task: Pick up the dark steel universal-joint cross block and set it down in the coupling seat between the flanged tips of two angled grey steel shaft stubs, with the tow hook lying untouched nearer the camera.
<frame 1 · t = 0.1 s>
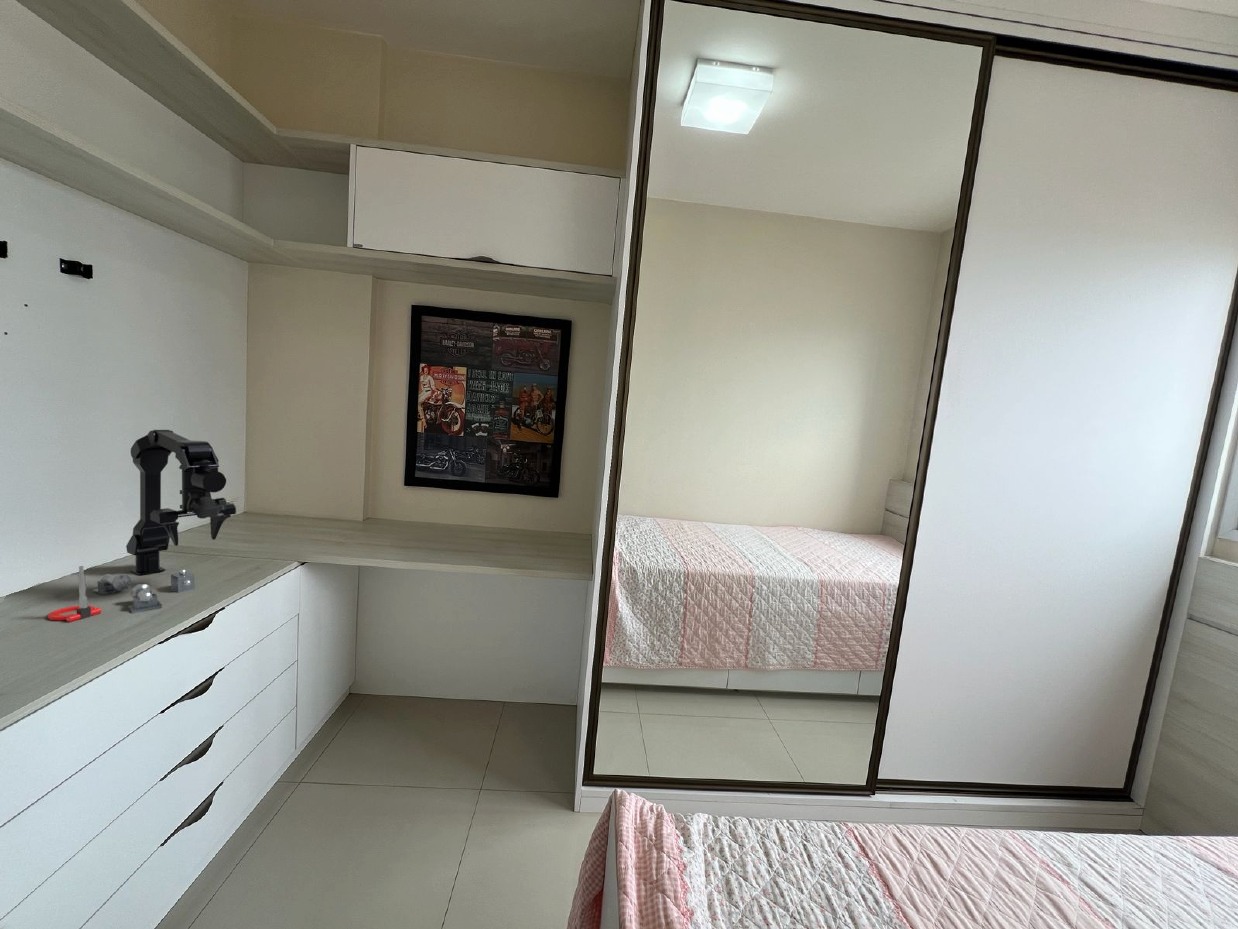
hand: (195, 542, 159), 14 cm above the worktop, fingers open, 9 cm apart
tow hook: (73, 616, 141), on the worktop
shaft left: (115, 591, 157), on the worktop
shaft right: (143, 605, 150), on the worktop
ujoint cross: (182, 589, 163), on the worktop
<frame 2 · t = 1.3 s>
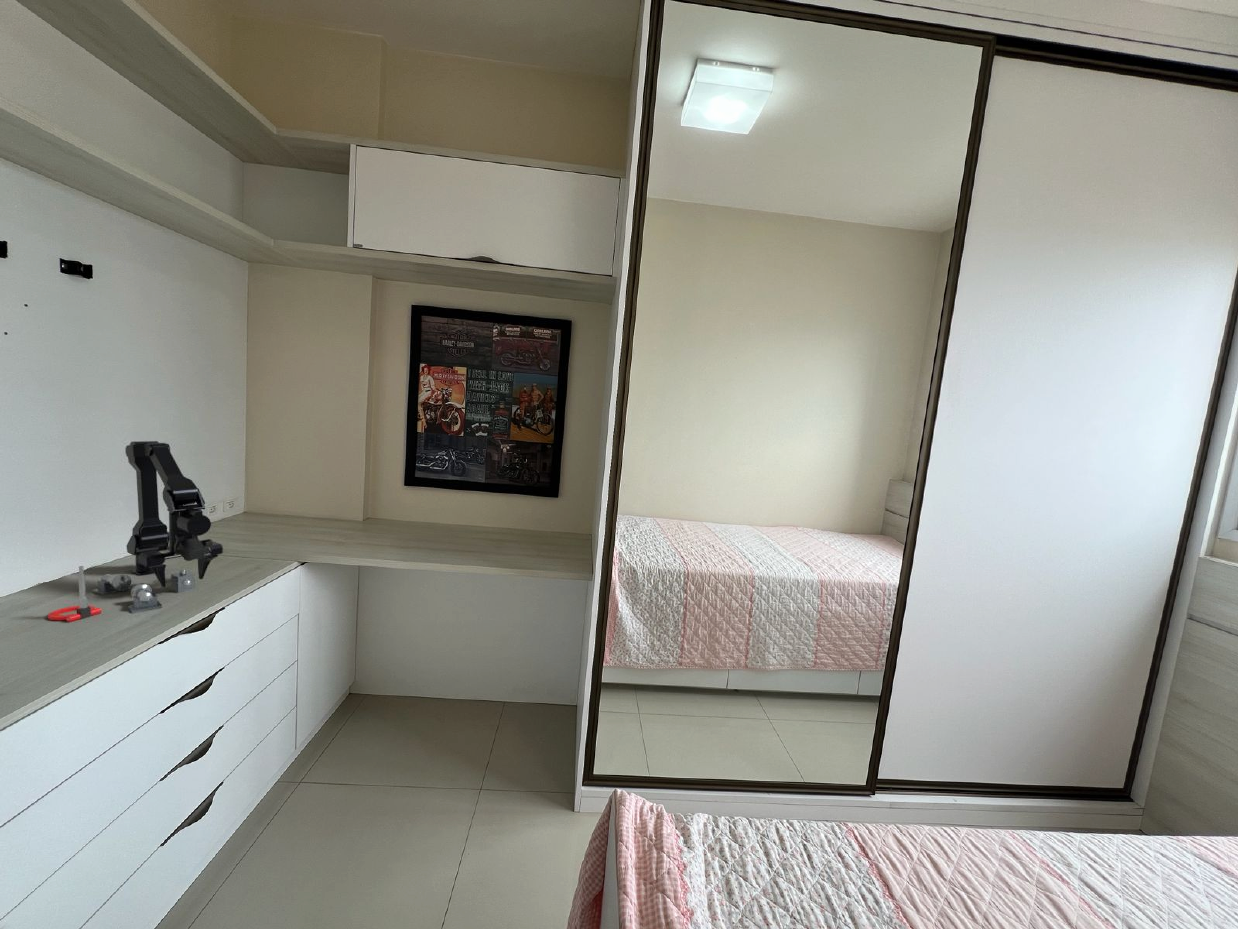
hand: (182, 582, 162), 2 cm above the worktop, fingers open, 9 cm apart
nothing on the worktop moved.
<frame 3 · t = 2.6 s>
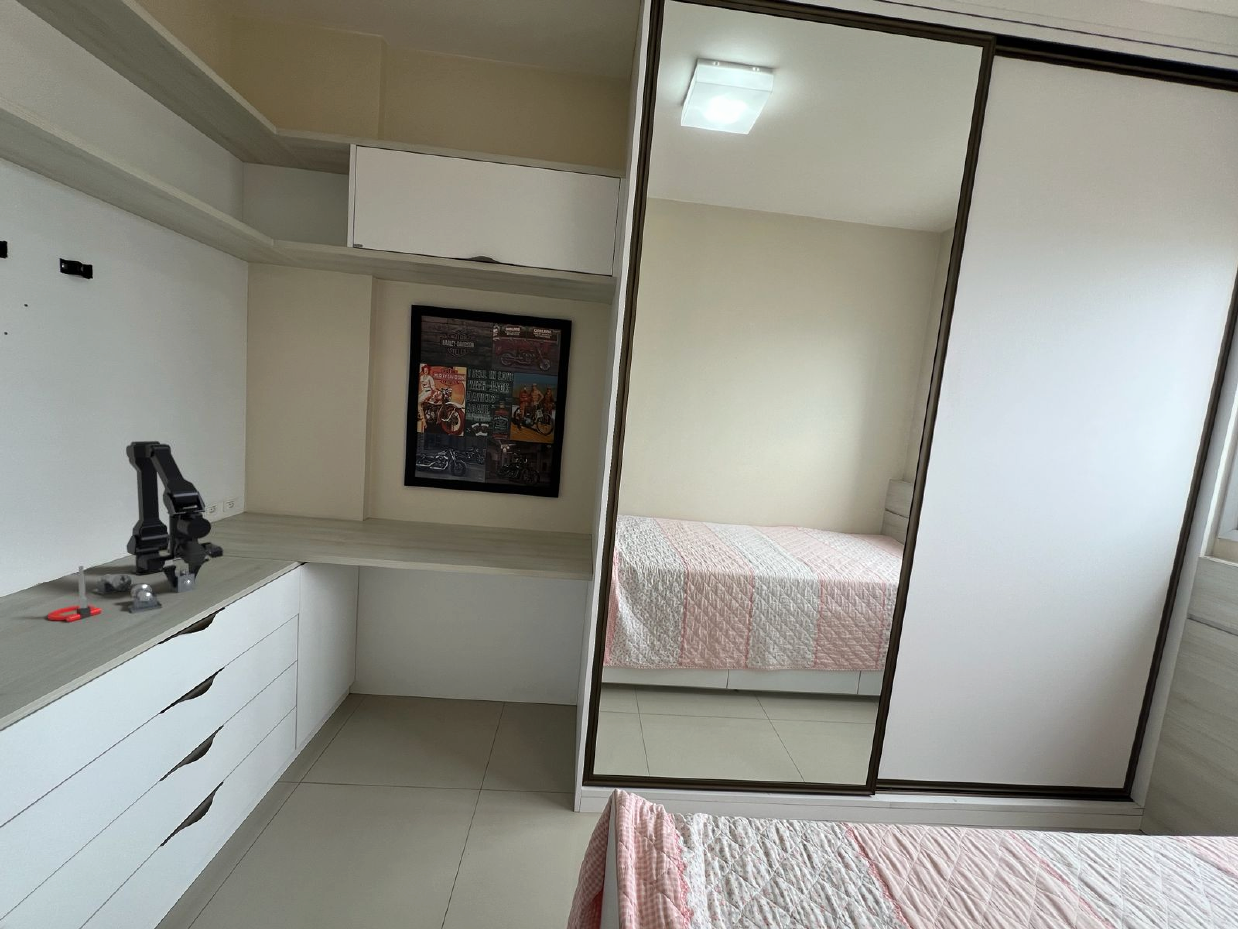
hand: (182, 585, 162), 1 cm above the worktop, fingers closed on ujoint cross, 4 cm apart
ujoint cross: (182, 589, 163), on the worktop, touching gripper
everything else where it was.
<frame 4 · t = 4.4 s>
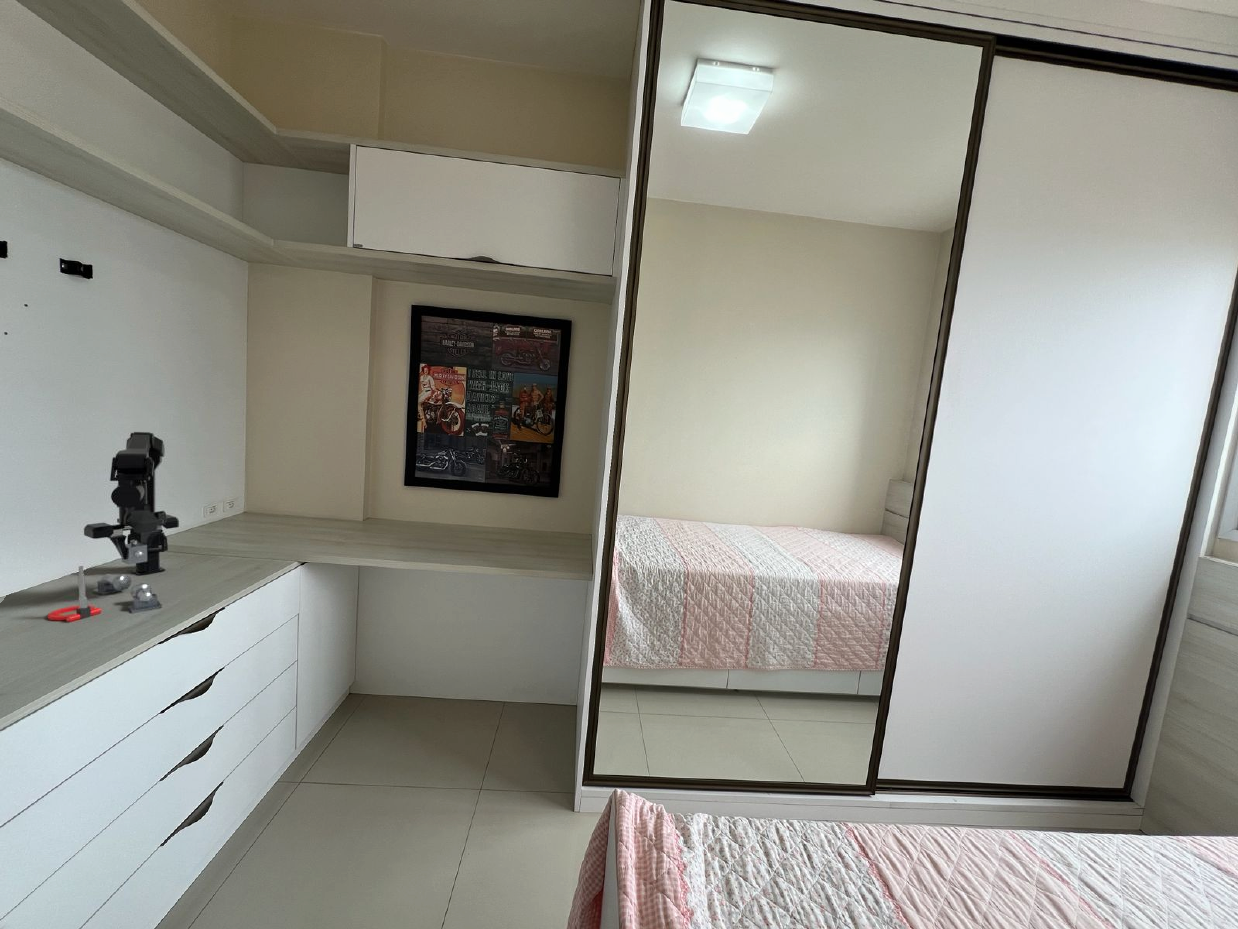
hand: (134, 557, 153), 11 cm above the worktop, fingers closed on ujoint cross, 4 cm apart
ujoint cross: (134, 561, 153), point 10 cm above the worktop, touching gripper
everything else where it was.
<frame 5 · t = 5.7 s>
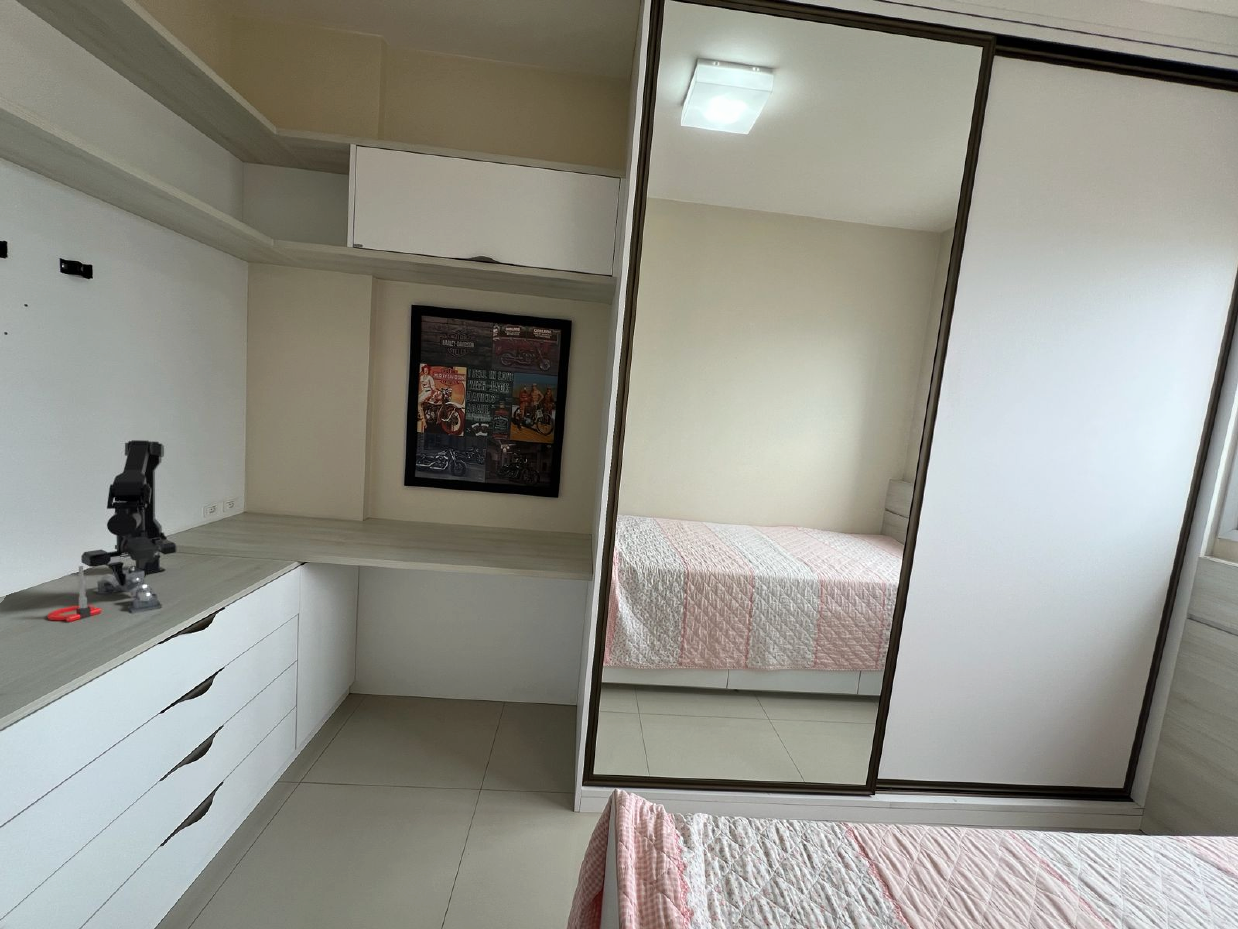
hand: (131, 583, 154), 4 cm above the worktop, fingers closed on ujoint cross, 4 cm apart
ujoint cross: (132, 587, 154), point 3 cm above the worktop, touching gripper
everything else where it was.
when the fingers open (2 cm above the worktop, at t = 6.7 s): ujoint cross drops 2 cm, on the worktop.
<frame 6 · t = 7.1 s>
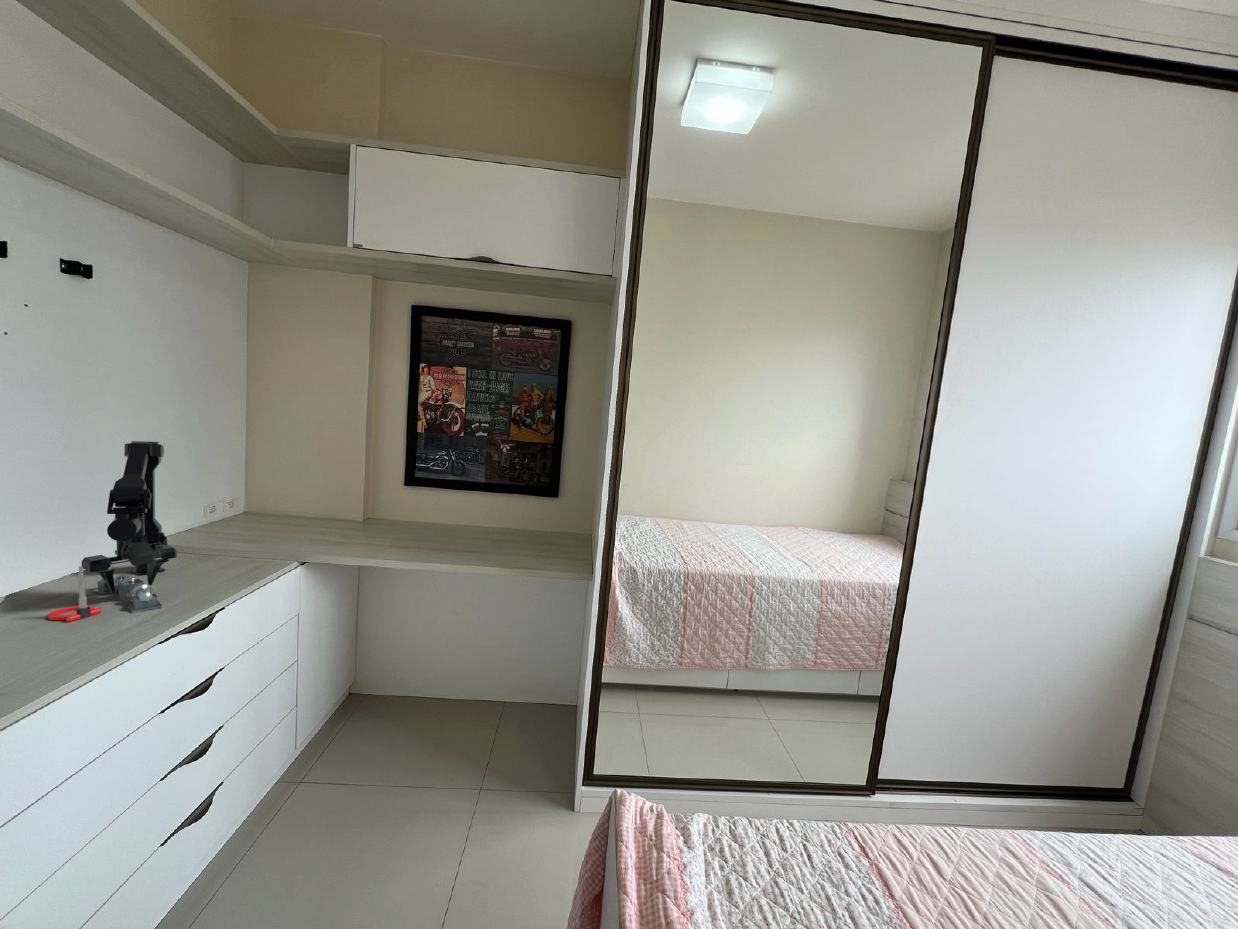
hand: (131, 588, 154), 2 cm above the worktop, fingers open, 8 cm apart
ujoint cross: (132, 598, 154), on the worktop
everything else where it was.
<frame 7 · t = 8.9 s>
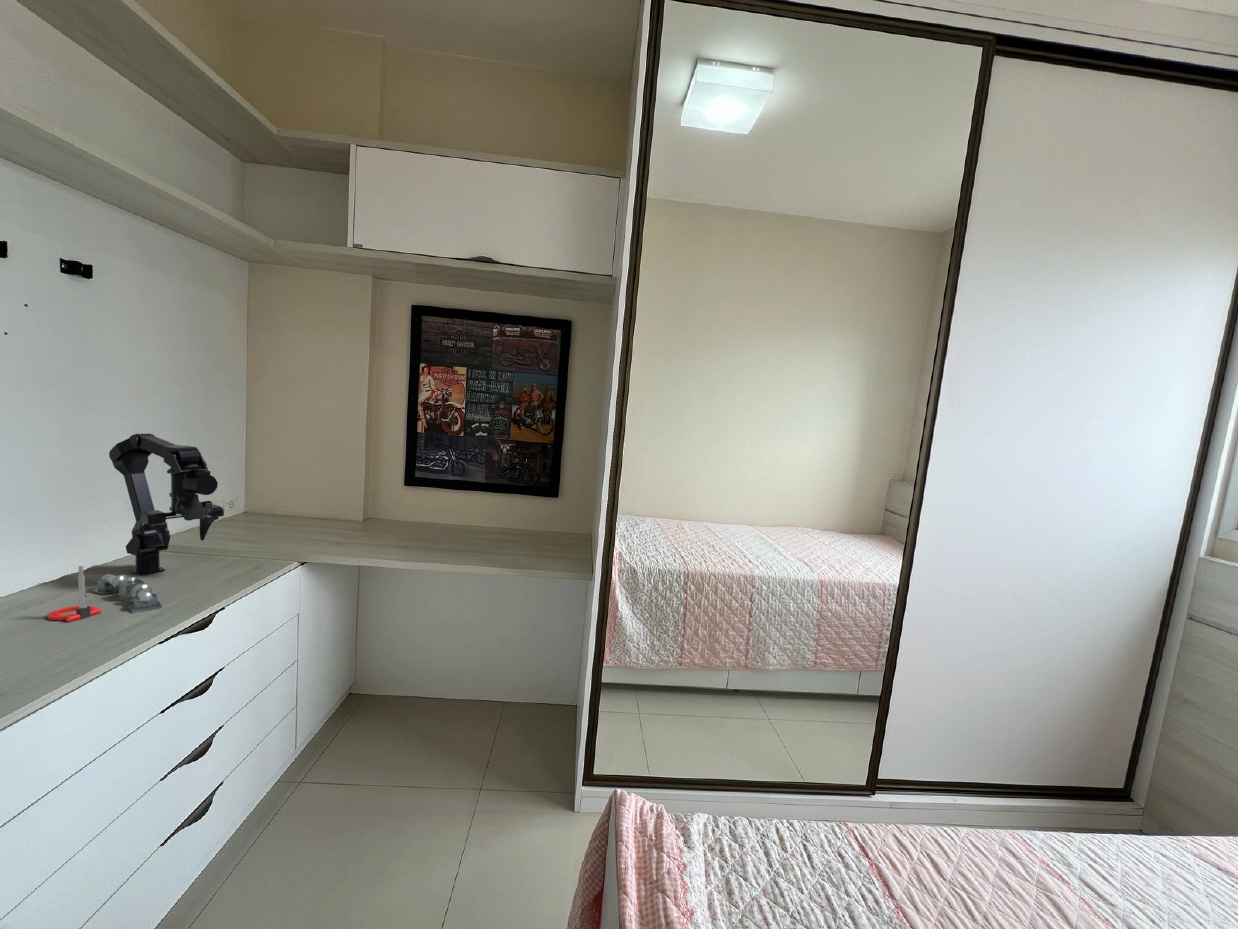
hand: (184, 543, 167), 12 cm above the worktop, fingers open, 9 cm apart
nothing on the worktop moved.
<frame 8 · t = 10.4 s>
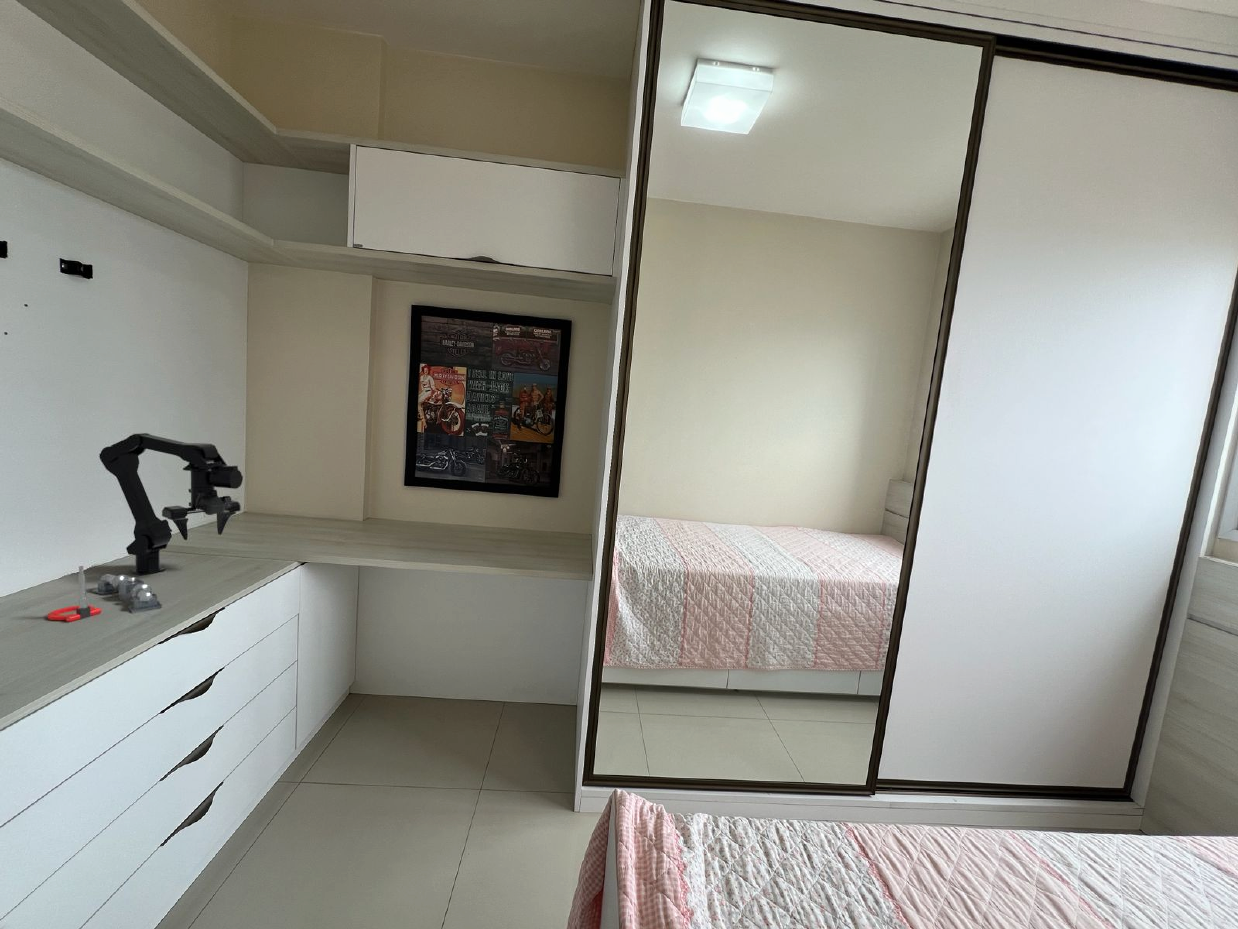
hand: (203, 537, 173), 12 cm above the worktop, fingers open, 9 cm apart
nothing on the worktop moved.
at the end: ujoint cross inside the target area (0.0 cm from its centre), on the worktop; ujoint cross tilted 0°; the gripper is holding nothing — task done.
